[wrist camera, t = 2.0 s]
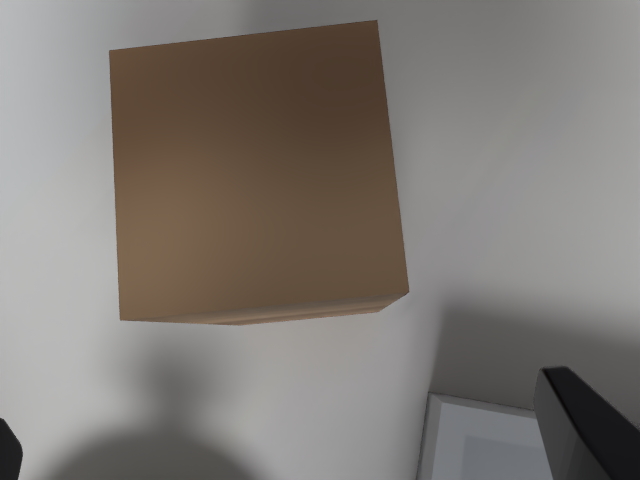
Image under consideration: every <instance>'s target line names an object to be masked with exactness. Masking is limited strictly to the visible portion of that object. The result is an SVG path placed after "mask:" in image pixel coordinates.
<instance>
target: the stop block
mask: <svg viewBox="0 0 640 480" xmlns="http://www.w3.org/2000/svg"><path fill="white" fill-rule="evenodd" d="M109 57H110V82H111V108H112V133H113V158H114V183H115V209H116V234H117V259H118V284H119V309H120V320H125V321H148V322H171V323H194V324H218V325H249V324H259V323H269V322H280V321H290V320H301V319H311V318H321V317H332V316H342V315H353V314H363V313H373V312H379V311H380V310H382V309H384V308H385V307H387V306H388V305H390V304H391V303H393V302H395V301H396V300H398V299H399V298H401V297H402V296H404V295H406V294H407V293H409V285H408V277H407V268H406V260H405V251H404V243H403V235H402V226H401V218H400V209H399V201H398V192H397V184H396V175H395V167H394V158H393V150H392V141H391V133H390V124H389V116H388V108H387V99H386V91H385V82H384V74H383V65H382V57H381V48H380V40H379V31H378V23H377V20H373V21H364V22H355V23H347V24H338V25H329V26H320V27H311V28H303V29H294V30H285V31H276V32H267V33H259V34H250V35H241V36H232V37H223V38H215V39H206V40H197V41H188V42H179V43H171V44H162V45H153V46H144V47H135V48H127V49H118V50H109Z"/></svg>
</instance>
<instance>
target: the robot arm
mask: <svg viewBox="0 0 640 480" xmlns="http://www.w3.org/2000/svg"><path fill="white" fill-rule="evenodd" d="M534 410H535V415H536V419H537V422H538V426H539V430H540V433H541V437H542V441H543V444H544V448H545V452H546V455H547V459H548V463H549V466H550V470H551V474H552V477H553V480H640V430H639V429H638V428H637V427H636V426H635V425H634V424H633V423H631V422H630V421H629V420H628V419H627V418H626V417H625V416H623V415H622V414H621V413H620V412H619V411H618V410H617V409H616V408H614V407H613V406H612V405H611V404H610V403H609V402H608V401H606V400H605V399H604V398H603V397H602V396H601V395H600V394H598V393H597V392H596V391H595V390H594V389H593V388H592V387H590V386H589V385H588V384H587V383H586V382H585V381H584V380H582V379H581V378H580V377H579V376H578V375H577V374H576V373H575V372H573V371H572V370H571V369H570V368H568V367H566V366H550V367H543V368H541V369H540V370H539V373H538V378H537V383H536V389H535V394H534ZM22 457H23V452H22V447H21V444H20V442H19V441H18V439H17V438H16V436H15V435H14V433H13V432H12V430H11V429H10V427H9V426H8V424H7V423H6V422H5V420H4V419H2V418H0V480H18V477H19V472H20V468H21V463H22Z"/></svg>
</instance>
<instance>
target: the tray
mask: <svg viewBox="0 0 640 480" xmlns="http://www.w3.org/2000/svg"><path fill="white" fill-rule="evenodd" d="M639 430H640V429H639ZM416 480H553V477H552V474H551V470H550V466H549V463H548V459H547V455H546V452H545V448H544V444H543V441H542V437H541V433H540V430H539V426H538V422H537V419H536V415H535V411H533V410H527V409H522V408H516V407H511V406H505V405H499V404H494V403H488V402H482V401H477V400H471V399H465V398H460V397H454V396H448V395H443V394H437V393H432V392H428V399H427V406H426V413H425V421H424V428H423V435H422V442H421V449H420V457H419V464H418V471H417V478H416Z"/></svg>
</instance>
